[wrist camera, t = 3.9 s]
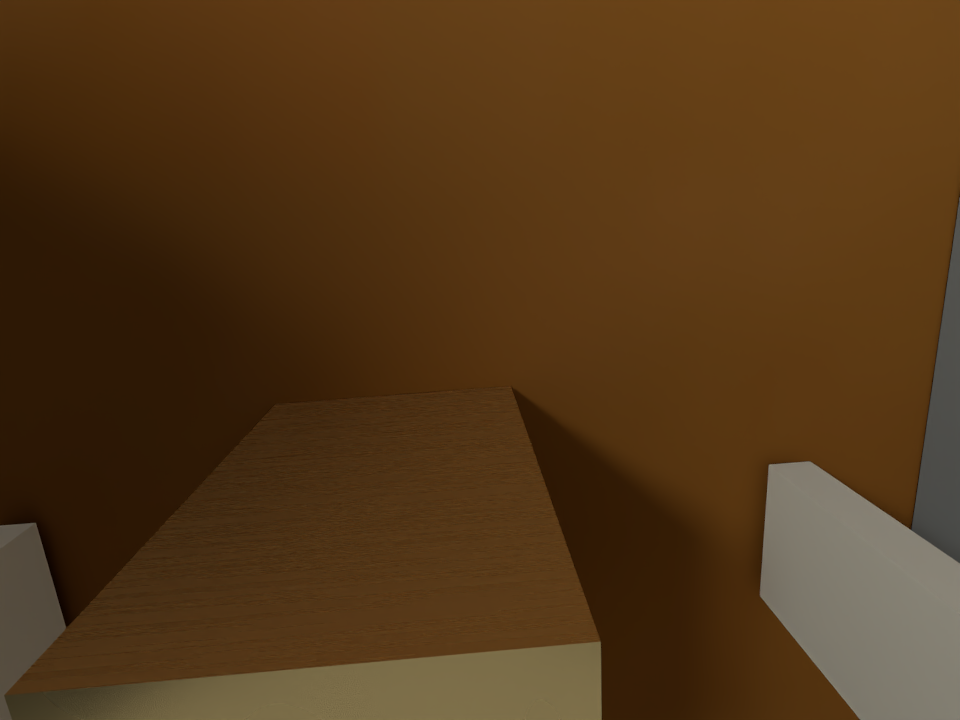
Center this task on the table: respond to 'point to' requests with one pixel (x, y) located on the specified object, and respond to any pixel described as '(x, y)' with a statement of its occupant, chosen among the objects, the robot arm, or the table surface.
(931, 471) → the base plate
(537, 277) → the table surface
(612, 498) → the table surface
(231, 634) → the tan rectangular block
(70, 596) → the table surface
